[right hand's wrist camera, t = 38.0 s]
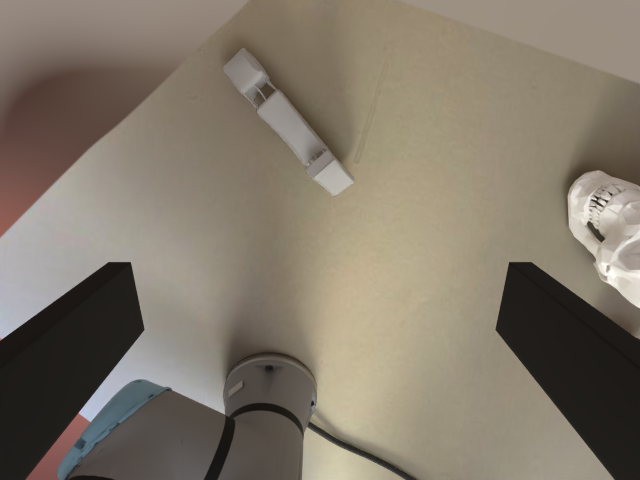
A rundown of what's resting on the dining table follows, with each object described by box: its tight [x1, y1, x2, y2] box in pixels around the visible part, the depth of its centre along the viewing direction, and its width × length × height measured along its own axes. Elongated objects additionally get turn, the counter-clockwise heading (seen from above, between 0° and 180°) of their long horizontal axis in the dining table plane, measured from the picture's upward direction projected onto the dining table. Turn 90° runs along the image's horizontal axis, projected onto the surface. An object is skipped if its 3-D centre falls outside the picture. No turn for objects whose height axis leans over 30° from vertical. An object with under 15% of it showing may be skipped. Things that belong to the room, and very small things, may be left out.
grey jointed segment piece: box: [223, 48, 354, 196], centre depth 42 cm, size 20×4×7 cm, turn 41°
